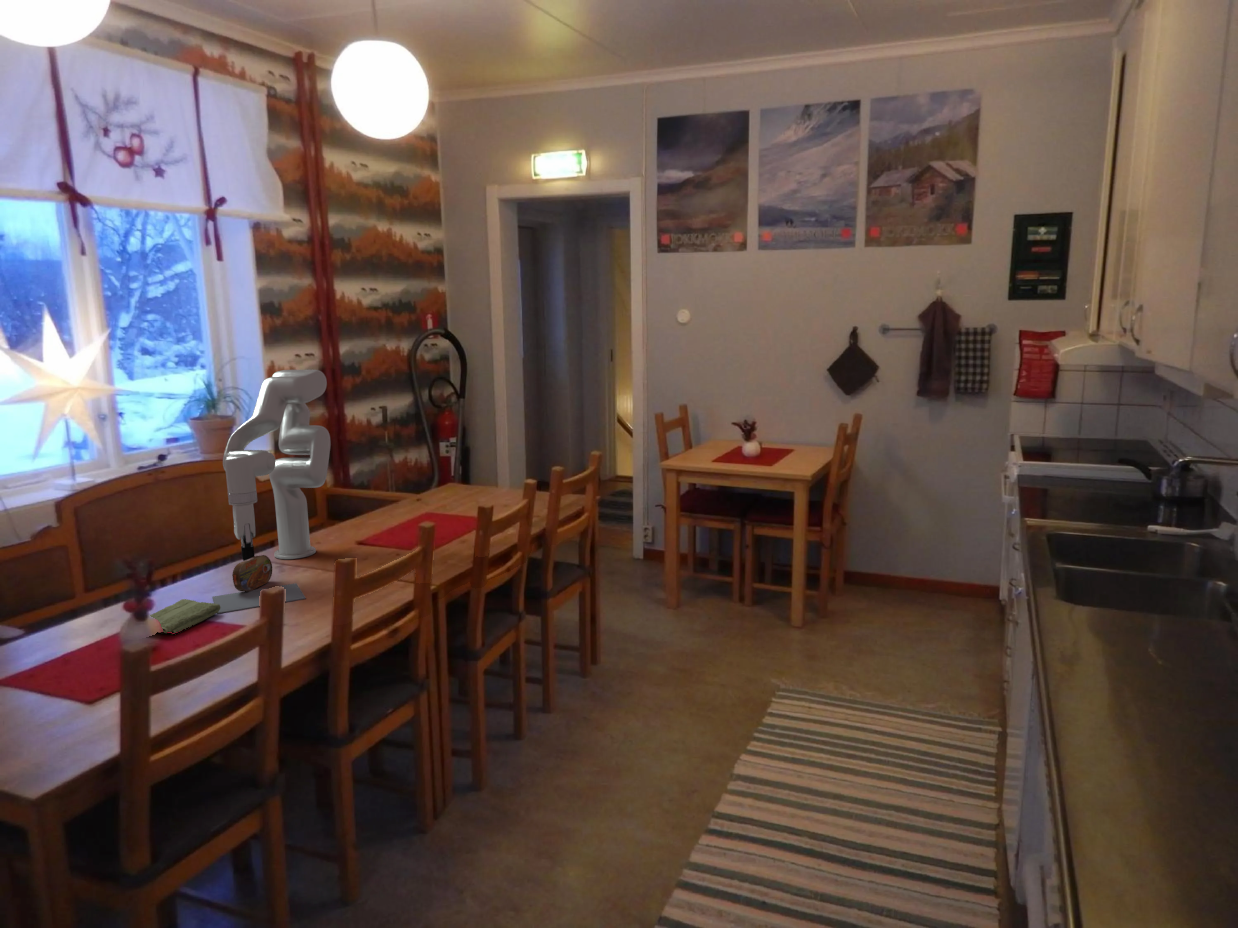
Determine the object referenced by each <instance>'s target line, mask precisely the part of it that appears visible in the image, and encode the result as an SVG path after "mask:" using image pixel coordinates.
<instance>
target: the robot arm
mask: <svg viewBox="0 0 1238 928" xmlns="http://www.w3.org/2000/svg"><path fill="white" fill-rule="evenodd" d="M327 386H328V383H327V377H326V375H325V373H324V372H323V371H321V370H319V369H282V370H278V371H275V372H274V373H273V374H272V376H270V377H267V378H265V379H264V381H263V382H262V383H261V386H260V389H259V393H258V395H257V399H256V403H255V405H254V409H253V411H252V412H253V413H252V414H251V417H250V418H248V419H247V420H246V421H245V422H243V424H241V425H240V426H239V427H238V428H237V429H236V430H234V432H233V433H232V434H231V435H230V437H228V438H229V439H228V441H227V443H226V446H225V449H224V454H223V458H222V466H223V470H224V471H225V476H226V477H225V478H226V487H227V498H228V505H229V506H232V517H233V533H234V536H235V538H236V539H237V540H240V542H241V546H240V550H241V559H242V562H243V561H245V560H247V559H250V558H252V557H254V556H255V548H254V547H255V546H254V540H253V538H255V537H256V521H255V508H254V504H255V503H258V494H257V483H256V477H261V476H262V477H263V476H267V475H268V476H269V477H268V478H269V481H270V483H271V487H272V492H273V497H274V498H273V499H274V507H275V517H276V519H275V520H276V531H277V539H278V540H277V541H278V542H277V543H278V549H276V550H275V551H274V553H273V555H274V558H277V559H279V560H294V559H303V558H307V557H310V556H313V555H314V554H315V553H316V552H317V550H316V547H314V546H312V545H311V538H310V527H309V525H310V524H309V514H308V513H309V512H308V503H307V502H308V501H307V497H306V495H305V494H304V492H303V491H302V489H304V488H305V489H308V488H309V489H310V488H311V489H312V488H313V489H314V488H315V489H316V488H320V487H322V486H323V485H324V484H325V482H326V480H327V476H328V469H329V459H330V453H331V452H330V451H331V434H330V433H329V430H328V429H327V428H326V427H324V426H322V425H318V424H317V425H314V424H313V425H312V424H311V425H310V418H311V417H310V416H311V412H310V408H309V406H308V405H307V404H306V403H309V402H311V401H313V400H315V399H318V398H319V397H321V396H322V395H324V393H325V391H326V389H327ZM278 429H279V435H278V449H279V451H280V452H281V453H283V454H284V455H292V456H293V455H294V456H295V455H296V456H303V455H304V456H306V455H307V456H309V457H281V458H277V459H276V457H275V456H274V454H273V453H272V452H271V451H269V450H262V449H260V450H259V449H256V450H255V449H246V447H247V446H249V445H250V444H251V442H254V441H255V440H257V439H259V438H261V437H264V436H266V435H268V434H270V433H272V432H276V431H277V430H278ZM301 488H302V489H301Z"/></svg>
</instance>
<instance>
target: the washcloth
mask: <svg viewBox="0 0 1238 928" xmlns="http://www.w3.org/2000/svg"><path fill="white" fill-rule="evenodd" d="M220 608H221V607H220V605H219V604H215V603H214V602H203V601H201V602H200V601H196V600H194V599H187V598H186V599H185V598H184V599H179V600H177V602H175V603H173V604H172V605H169V606H165V607H164V608H162V609H160V610H158V611H157V612H154V613H152V614H149V615H150V616H151V617H153V618H155V619H157V620H158V621H159V622H160V624H161V627H162V629H163V632H164V633H163V634H167V632H172V633H176V632H179V631H182V630H183V629H185V630H187V629H186V628H188V627H189V628H191V627H193V626H195V625H196V624H199V623H201V622H204V621H205V620H208V618H211V617H213V616H215V615H216V614H217V613H218V611H219V610H220ZM192 625H193V626H192ZM189 628H188V629H189ZM182 632H183V631H182Z"/></svg>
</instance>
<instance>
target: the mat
mask: <svg viewBox="0 0 1238 928" xmlns="http://www.w3.org/2000/svg"><path fill="white" fill-rule="evenodd" d="M281 586H282V587H284V589H286V602H285V603H290V602H295V601H301V600H306V599H307V598H306V596H305V595H304V593H303V591H302V590H301V588H300V587H299V585H298V583H296V582H295V583H289V584H284V585H283V584H282V585H281ZM266 588H267V587H264V588H258V589H257V588H256V589H254V590H252V591H249V592H248V591H239V592H233V593H228V594H227V593H226V594H221V595H220V594H219V595H214V596H211V597H212V603H215V604H219V605H220V607H221V608H220V610H219V611H218V613H216V614H217V615H218V614H224V613H231V612H236V611H243V610H248V609H254V608H260V607H259V596H260V591H261V590H262V589H266Z"/></svg>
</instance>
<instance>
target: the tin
mask: <svg viewBox="0 0 1238 928" xmlns="http://www.w3.org/2000/svg"><path fill="white" fill-rule="evenodd" d="M231 574H232V583H233V586H234V588H235V590H236V591H239V592H245V591H248V592H249V591H252V590H257V588H258V589H259V588H260V587H261V586H264V585H265V584H267V583H269V582H270V580H271V579H272V576H273V575H272V574H273V564H272V561H271V559H270V557H268V555H265V554H263V555H262V554H261V555H254V557H252V558H250V559H247V560H245V561H243V560H242V561H241V562H239V563H236V565H235V566H234V568H233V570H232V573H231Z"/></svg>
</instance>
